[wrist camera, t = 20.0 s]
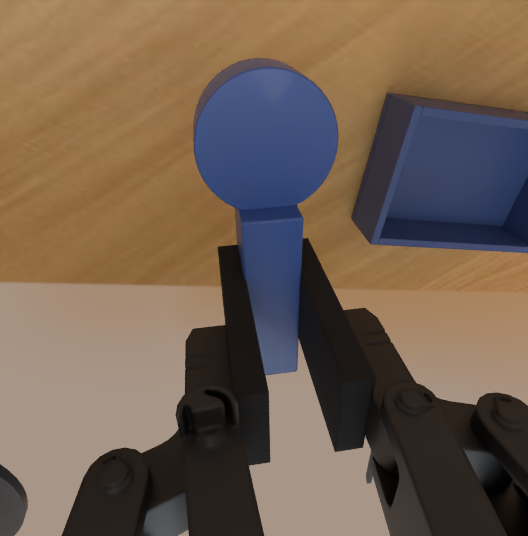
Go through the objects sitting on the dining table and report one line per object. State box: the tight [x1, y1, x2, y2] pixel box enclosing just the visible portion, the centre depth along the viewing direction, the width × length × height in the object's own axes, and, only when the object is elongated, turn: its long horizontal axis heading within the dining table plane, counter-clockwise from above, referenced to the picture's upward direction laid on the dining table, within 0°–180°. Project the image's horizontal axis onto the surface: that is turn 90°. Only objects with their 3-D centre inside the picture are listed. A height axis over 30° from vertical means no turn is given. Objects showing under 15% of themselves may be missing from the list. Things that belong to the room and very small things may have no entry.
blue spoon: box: [193, 58, 338, 375], centre depth 13 cm, size 10×4×3 cm, turn 1°
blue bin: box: [352, 93, 528, 253], centre depth 27 cm, size 12×8×4 cm
